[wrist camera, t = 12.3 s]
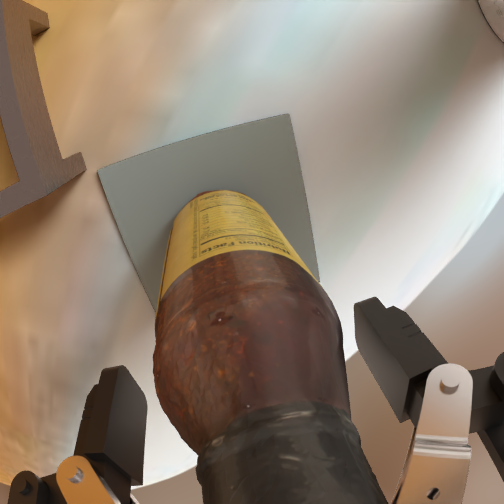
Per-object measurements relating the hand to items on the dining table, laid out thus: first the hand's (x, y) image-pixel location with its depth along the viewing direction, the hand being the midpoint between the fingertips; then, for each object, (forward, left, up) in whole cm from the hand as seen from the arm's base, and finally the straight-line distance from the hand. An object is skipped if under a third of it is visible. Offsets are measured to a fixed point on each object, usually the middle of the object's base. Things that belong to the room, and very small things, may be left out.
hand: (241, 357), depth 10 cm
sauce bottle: (0, 0, -12) cm, 12 cm away
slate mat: (0, 0, -12) cm, 12 cm away
